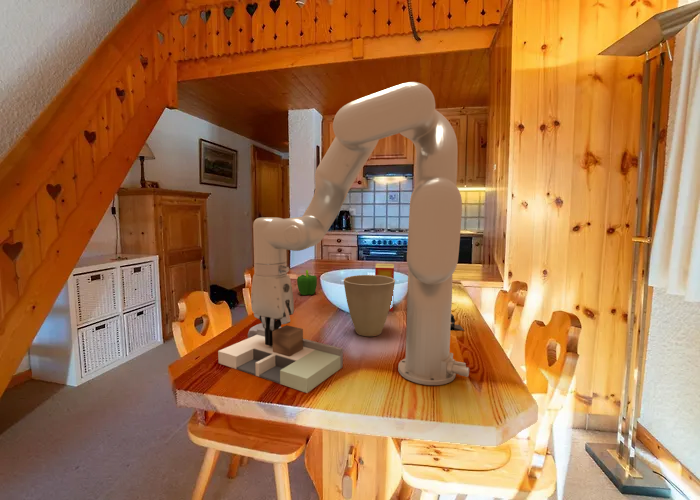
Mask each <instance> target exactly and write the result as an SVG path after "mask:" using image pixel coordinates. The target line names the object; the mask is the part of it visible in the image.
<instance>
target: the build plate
mask: <svg viewBox="0 0 700 500" xmlns="http://www.w3.org/2000/svg"><path fill="white" fill-rule="evenodd" d="M455 323H456V318H455V316H454V314H452V313H451V328H450V331H453V332H454V331H459V332H462V331H463V332H465V330H464V328H463V326H461V325H460V324H455Z"/></svg>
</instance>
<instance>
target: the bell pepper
mask: <svg viewBox="0 0 700 500" xmlns="http://www.w3.org/2000/svg"><path fill="white" fill-rule="evenodd" d="M296 282H297V283H296V285H297V289H298V292H299V294H300V295H302V296H308V295H309V296H310V295H314V294H315V293H316V290H317V285H318V283H317V282H318V278H317V276H316V275H314V274H313V275H312V274H309V270H308V269H305V274H301V275H299V276H297V279H296Z"/></svg>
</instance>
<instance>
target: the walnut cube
mask: <svg viewBox="0 0 700 500" xmlns="http://www.w3.org/2000/svg"><path fill="white" fill-rule="evenodd" d="M272 337H273V352H275V353H278V354H282V355H285V356H289V357H290V356H291V355H293V354H295V353H297V352H299V351H301V350H302V349H303V339H304V329H303V328H301V327H296V326H291V325H287V324H285V325H284V326H281V328H279V329H277V330H274V331H272Z"/></svg>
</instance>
